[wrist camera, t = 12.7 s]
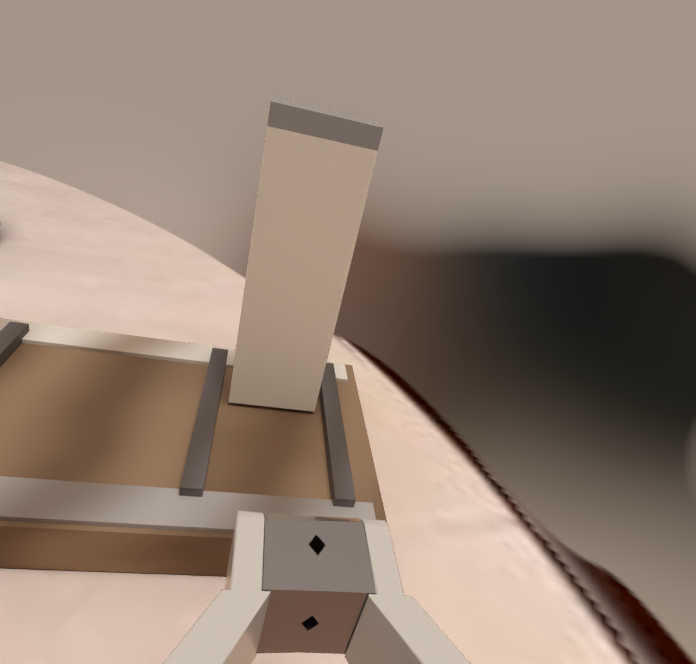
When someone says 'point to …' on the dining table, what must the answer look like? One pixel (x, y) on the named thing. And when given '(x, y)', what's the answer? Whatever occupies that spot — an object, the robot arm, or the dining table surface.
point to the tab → (300, 250)
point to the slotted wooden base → (159, 453)
